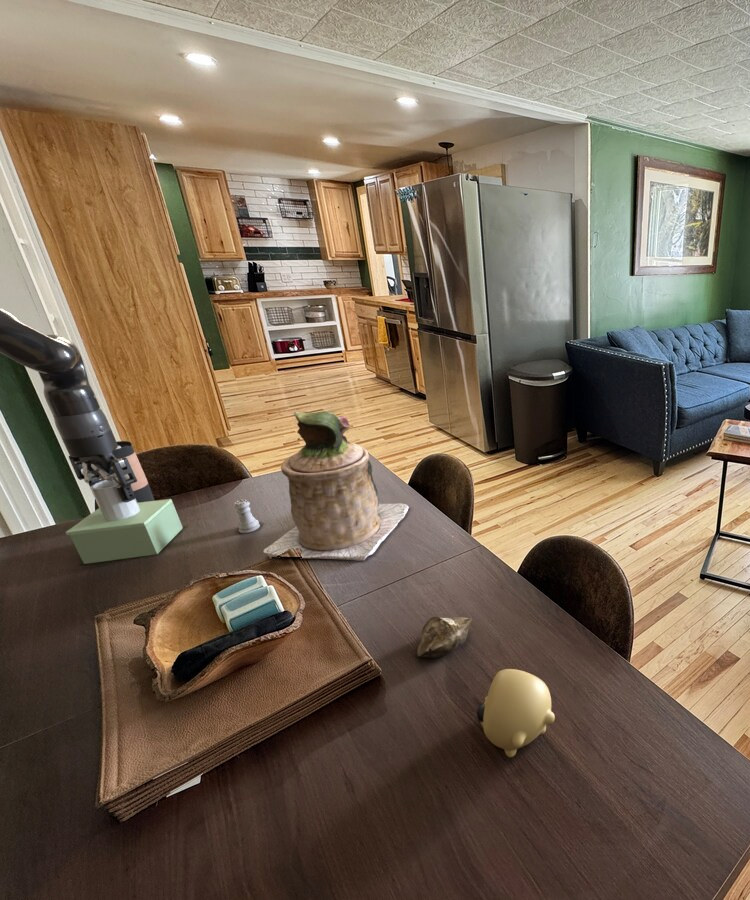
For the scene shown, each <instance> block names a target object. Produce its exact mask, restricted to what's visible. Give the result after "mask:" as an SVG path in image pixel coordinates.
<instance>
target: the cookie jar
mask: <svg viewBox="0 0 750 900" xmlns="http://www.w3.org/2000/svg"><path fill="white" fill-rule="evenodd" d="M293 414H294V416H295V419H296V420H297V423H296V424H297V427H298V430H297V431H296V433H297V434H299V436H300V437H301V439H302V440H303V441H304V443H305V444H304V446H303V447H301V448H300V450H299V451H298V452H296V453H294V454H292V455H291V456H289V457H287V458H286V459H284V460H283V461H282V463H281V466H280V470H281V473H282V474H283V475H284V476H285V477H286V478H287V480H288V494H289V499H290V500H289V501H290V514H291V517H292V520H293V522H294V525H295V527H293V528H291V529H290V530H289V531H287V532H286V533H284V534H283V535H282V536H281V537H280V538H278V539H277V540H275V541H274V542H273V543H271V544H270V545H269V546H267V547H265V548H264V549H263V553H264V554H265V555H267V556H268V557H269V559H272V558H278V557H277V556H278V555H280V554H282V553H284V552H285V551H287V550H288V549H291V548H298V549H301V550H302V552H301V556H302V558H301V559H323V560H324V559H325V560H344V561H345V560H347V561H357V562H359V561H365V560H366V559H367V558H368V557H369V556H372V555H374V553H375V552H376V551H377V549H378V548H379V547H380V545H381V544H382V543H383V541H385V540H386V538H387V537H388V536H389V535H390V534H391V532H392V531H393V530H394V529H395V528H396V527H397V526H398V523H400V522H401V521H402V520H403V519H404V518H405V517H406V514H407V513H408V511H409V508H410V507H409V505H408V504H406V503H401V502H400V503H399V502H398V503H380V498H379V497H378V496H379V491H378V488H377V486H376V483H375V481H374V471H373V468H374V466H373V465H374V464H373V463H372V461H371V459H370V455H369V452H368V450H367V449H366V448H364V447H362V445H360V444H357V443H354V442H351V441H348V439H347V437H346V436H345V435H344V434H345V433H346V432H347V431H348V430H349V429H350V428H351V426H350V425H351V424H350V423H349V421H348V419H347V418H346V417H345V416H337V415H336V414H334V413H332V412H329V411H325V410H324V411H316V412H315V411H314V412H307V413H305V412H300V411H295V412H294V413H293Z"/></svg>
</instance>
